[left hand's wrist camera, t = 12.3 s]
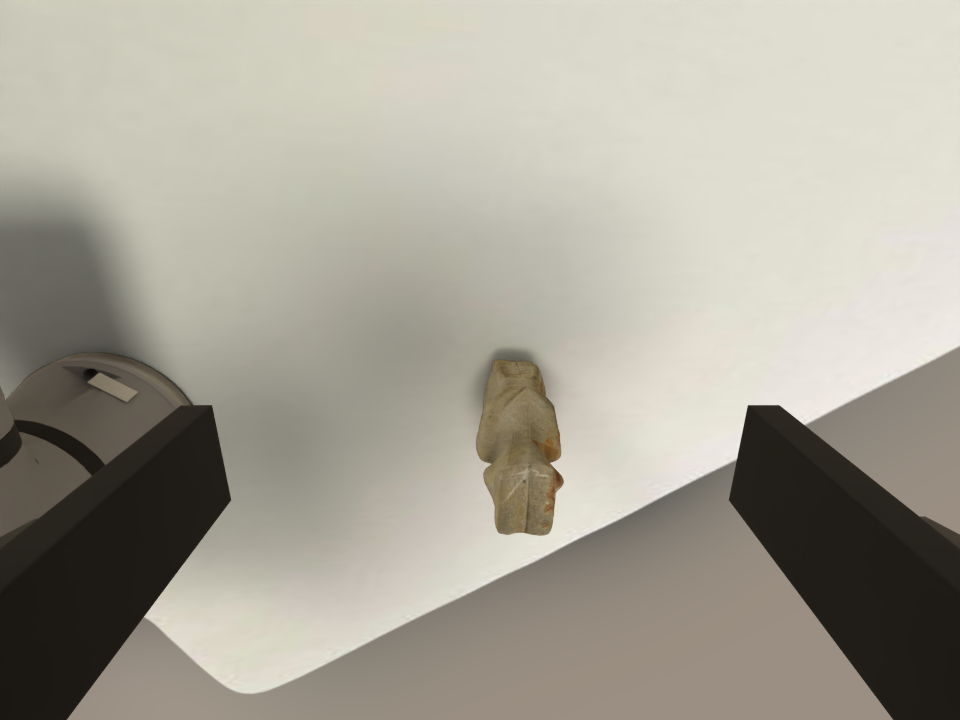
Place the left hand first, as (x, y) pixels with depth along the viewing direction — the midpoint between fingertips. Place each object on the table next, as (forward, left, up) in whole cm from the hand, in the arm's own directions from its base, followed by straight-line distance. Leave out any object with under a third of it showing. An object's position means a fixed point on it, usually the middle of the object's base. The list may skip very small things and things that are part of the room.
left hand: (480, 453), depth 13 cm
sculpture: (-4, -10, -29) cm, 31 cm away
